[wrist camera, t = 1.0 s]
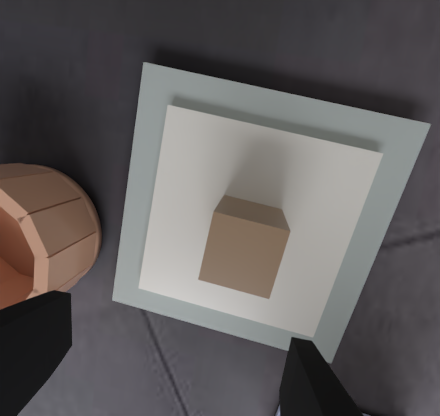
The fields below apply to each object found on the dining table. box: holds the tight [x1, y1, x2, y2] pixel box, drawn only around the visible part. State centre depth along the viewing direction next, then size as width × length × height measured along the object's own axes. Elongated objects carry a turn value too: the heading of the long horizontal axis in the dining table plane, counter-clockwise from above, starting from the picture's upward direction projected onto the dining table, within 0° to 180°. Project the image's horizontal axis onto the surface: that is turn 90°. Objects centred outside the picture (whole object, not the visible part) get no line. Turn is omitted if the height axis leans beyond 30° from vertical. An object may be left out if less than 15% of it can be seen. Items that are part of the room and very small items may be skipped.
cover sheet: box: [138, 105, 383, 338], centre depth 14 cm, size 12×12×5 cm
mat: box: [112, 62, 431, 363], centre depth 17 cm, size 16×16×1 cm
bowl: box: [0, 163, 102, 310], centre depth 17 cm, size 9×9×5 cm
